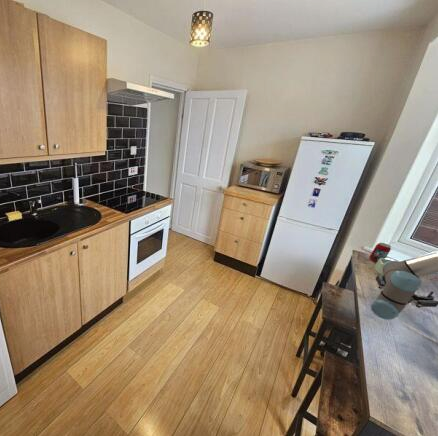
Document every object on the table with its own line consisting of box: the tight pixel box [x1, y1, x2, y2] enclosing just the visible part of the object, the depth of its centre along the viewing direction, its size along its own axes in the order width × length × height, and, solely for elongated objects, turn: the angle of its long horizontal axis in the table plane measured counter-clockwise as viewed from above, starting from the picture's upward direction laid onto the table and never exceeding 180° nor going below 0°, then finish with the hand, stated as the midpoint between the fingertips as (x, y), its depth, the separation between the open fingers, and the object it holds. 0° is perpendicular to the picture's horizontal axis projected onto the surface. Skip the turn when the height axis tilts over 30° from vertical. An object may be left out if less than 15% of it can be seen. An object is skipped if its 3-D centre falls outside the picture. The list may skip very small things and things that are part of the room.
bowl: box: [373, 257, 393, 277], centre depth 133 cm, size 15×15×6 cm
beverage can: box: [368, 242, 392, 264], centre depth 145 cm, size 7×7×12 cm
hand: (410, 284), depth 108 cm, fingers open, 13 cm apart
